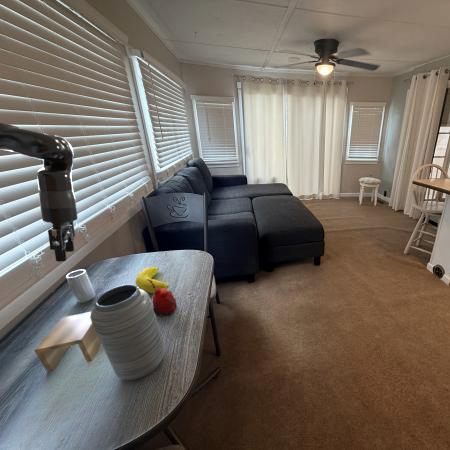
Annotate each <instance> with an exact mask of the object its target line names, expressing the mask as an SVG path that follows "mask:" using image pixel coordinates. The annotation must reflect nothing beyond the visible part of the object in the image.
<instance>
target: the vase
mask: <svg viewBox="0 0 450 450" xmlns="http://www.w3.org/2000/svg"><path fill="white" fill-rule="evenodd" d="M151 300H152V299H151V298H150V295H149V293H148V292H145V291H144V290H142V289H139V288H138V286H137V285H136V284H132V283H131V284H129V283H128V284H122V285H118V286H115V287H112V288H109V289H108V290H105V291H104V292H102V293H101V294H99V295H98V296H97V297H96V298H95V300H94V302H93V307H92V309H91V311H90V312H91V315H90V318H91V322H92V324H93V326H94V328H95V330H96V333H97V335H98V337H99V339H100V341H101V347H102V348H103V351H104V352H105V355H106V357H107V359H108V361H109V363H110V365H111V368H112V370H113V372H114V374H115V376H117V378H119V379H122V380H128V381H131V380H139V379H142V378H145V377H147V376H148V375H150V374H152V373H153V372H154V371H155V370H156V369H158V367H159V365H160V364H161V362H162V361H163V358H164V356H165V354H166V343H165V340H164V338H163V334H162V331H161V329H160V325H159V322H158V320H157V315H156V314H155V313H154V310H153V308H154V307H153V303H152V301H151Z"/></svg>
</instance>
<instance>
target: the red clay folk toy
mask: <svg viewBox="0 0 450 450" xmlns="http://www.w3.org/2000/svg"><path fill="white" fill-rule="evenodd" d="M151 279H153V277H152V278H151ZM147 280H148V281H150V282H151V284H152V286H153V288H154V289H155V290H156V292H155V293H153V294H152V297H151V300H152V301H151V303H152V307H153V310H154V313H155V316H156V317H157V316H158V317H164V316H169V315H171V314H173V313H175V312H176V311H177V308H178V304H177V300H176V298H175V297H174V295H173V293H172V291H171V290H168V288H167V289H165V288H162V289H161V288H158V289H156V288H155V284H153V283H152V280H149V279H147ZM150 282H149V283H150ZM149 283H148V284H149Z"/></svg>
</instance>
